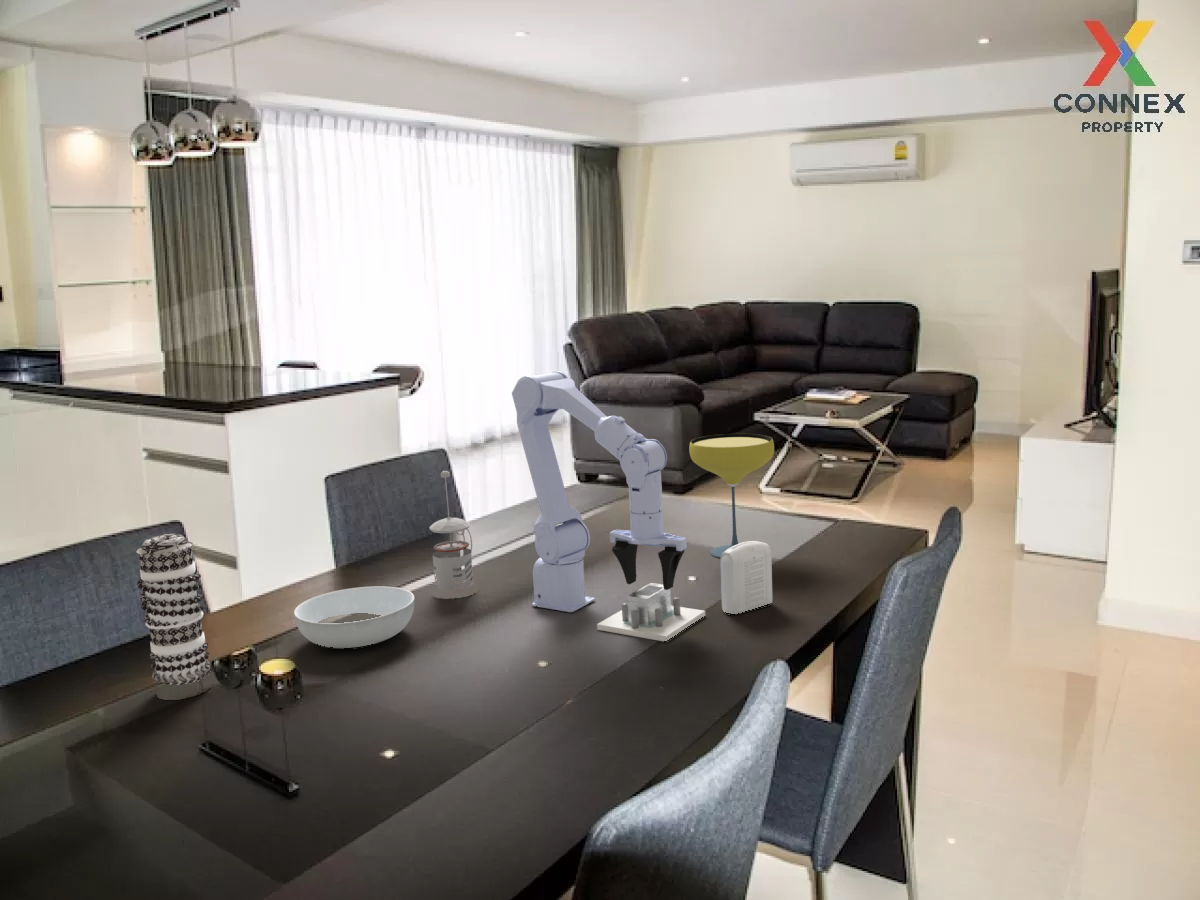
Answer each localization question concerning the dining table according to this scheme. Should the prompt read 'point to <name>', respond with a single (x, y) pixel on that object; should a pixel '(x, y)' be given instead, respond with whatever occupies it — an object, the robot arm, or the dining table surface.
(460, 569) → the french press
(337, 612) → the serving bowl
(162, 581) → the decorative candle
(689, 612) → the dock
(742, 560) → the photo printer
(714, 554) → the cocktail glass
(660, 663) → the dining table surface
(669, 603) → the block
